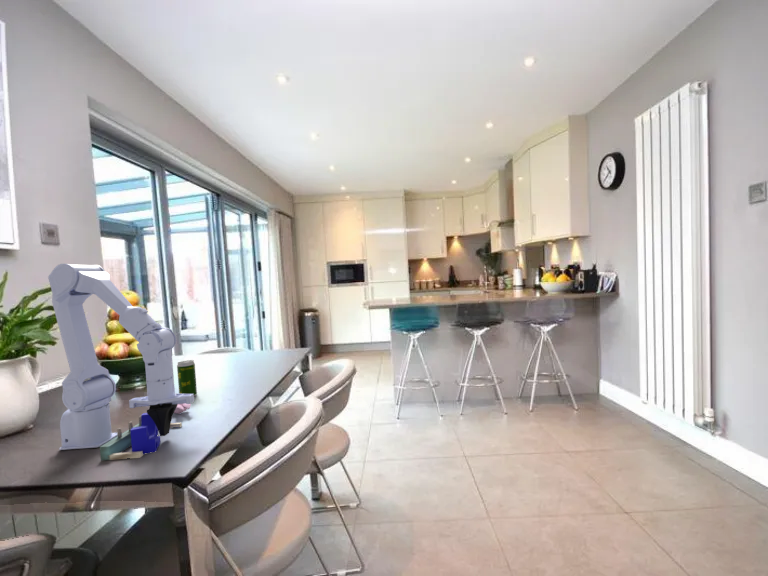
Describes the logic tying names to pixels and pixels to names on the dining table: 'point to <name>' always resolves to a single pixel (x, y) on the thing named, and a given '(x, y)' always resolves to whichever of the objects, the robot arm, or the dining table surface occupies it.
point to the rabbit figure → (181, 408)
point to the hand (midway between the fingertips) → (164, 434)
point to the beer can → (187, 377)
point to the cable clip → (145, 436)
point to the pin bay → (123, 444)
